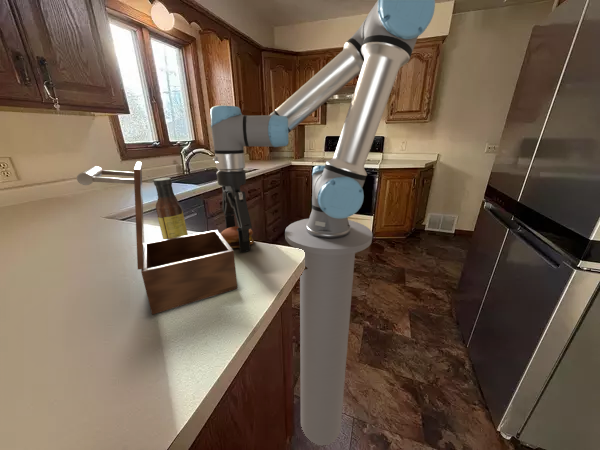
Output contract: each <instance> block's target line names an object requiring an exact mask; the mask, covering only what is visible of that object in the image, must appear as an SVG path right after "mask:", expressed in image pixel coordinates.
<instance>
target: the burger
mask: <svg viewBox="0 0 600 450" xmlns="http://www.w3.org/2000/svg"><path fill="white" fill-rule="evenodd" d="M237 228H239V226H238V225H237V226H236V225H235V227H230V228H227V229H226V228H225V229H224V230H222V231H221V232H220V234H221V235H222V236H223V238H224V239H225V240H226V242H227V243H228V244H229V245H230V247H231V248H232V249H240V246H239V236H238V231H237ZM253 234H254V231H253V230H252V229H249V240H250V241H252V242H250V246H251V245H253V244H254V239H253V236H252V235H253Z"/></svg>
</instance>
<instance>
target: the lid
mask: <svg viewBox="0 0 600 450" xmlns="http://www.w3.org/2000/svg"><path fill="white" fill-rule="evenodd" d="M103 175H105V176H103ZM109 176H122V177H123V178H122V177H109ZM125 177H133V178H125ZM76 181H77V183H79V184H80V185H82V186H90V185H92V184H93V183H107V184H124V185H126V184H128V185H133V186H134V187H133V188H134V211H135V212H134V213H135V215H134V216H135V236H136V237H135V238H136V239H135V240H136V261H137V264H136V265H137V270H141V269H143V264H144V243H145V231H144V230H145V229H144V200H143V196H144V195H143V167H142V162H141V161H136V163H135V164H134V168H133V172H132V171H121V170H109V169H107V170H106V169H102V167H100V166H97V165H94V166H93V165H92V166H91V167H89V168H87V169H86V170H84V171H82V172H80V173H78V175H76Z"/></svg>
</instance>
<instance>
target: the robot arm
mask: <svg viewBox="0 0 600 450" xmlns="http://www.w3.org/2000/svg"><path fill="white" fill-rule="evenodd" d="M435 8H436V0H377V1H376V2H375V4H374V5H373V7H372V8H371V10H370V11H369V12H368V14H367V16H366V17H365V19H364V20H363V22H362V23H361V25H360V26H359V28H357V30H356V31H355V32H354V34H352V36H351V37H350V38H349V39H347V40H346V42H345V43H344V44H343V49H342V50H341V51H340V52H339V53H338V54H337V55H336V56H335V57H334V58H332V59H331V60H330V61H329V62H328V63H327V64H325V65H324V66H323V67H322V68H321V69H320V70H319V71H318V72H317V73H315V74H314V75H313V76H312V77H311V78H310V79H309V80H308V81H306V82H305V83H304V84H303V85H302V86H300V87H299V89H297V90H296V91H295V92H293V94H292V95H291V96H289V97H288V98H287V99H286V100H285V101H284V102H283V103H281V104H280V105H279V106H278V107H276V109H274V110H273V111H272V112H271V113H270V114H269V115H268V114H266V115H248V114H247V115H246V114H243V113H242V111H241V108H240V107H239V106H235V105H214V106H212V107H211V108H210V129H211V137H212V143H213V152H214V157H213V158H212V161H213V162H215V166H216V169H217V171H216V179H217V185H218V186H220V187H221V189H222V213H223V215H224V220H225V229H227V228H230V227H236V222H237V226H239V228H237V231H238V236H239V246H240V248H239V252H240V253H246V252H249V251H251V245H250V240H249V229H251V230H252V228H253V226H252V223H251V218H250V212H249V208H248V203H247V197H246V192H245V191H241V186H243V185H245V184H246V183H247V176H246V171H245V168H246V158H245V150H244V149H245V147H246V148H247V147H261V148H262V147H263V148H264V147H265V148H267V147H269V148H270V147H271V148H272V147H273V148H279V147H287V146H289V134H290V133H291V131H293V130H294V129H295V128H297V127H298V126H299V125H300V124H301V123H303V122H304V121H305V120H306V119H307V118H308V117H310V116H311V115H312V114H313V113H315V111H317V110H318V109H319V108H320V107H321V106H323V105H324V104H325V103H326V102H328V101H329V100H330V99H331V98H332V97H333V96H335V95H336V94H337V93H338V92H339V91H340V90H342V89H343V88H344V87H345V86H346V85H348V84H349V83H350V82H351V81H352V80H353V79H355V78H356V77H357V76H358V78H357V82H356V85H355V88H354V90H353V95H352V98H351V101H350V104H349V106H348V110H347V113H346V116H345V120H344V123H343V126H342V128H341V133H340V134H339V135H340V136H339V138H338V142H337V145H336V148H335V151H334V154H333V157H332V158H331V159H328V160H327V161H326V162H325V164H324V165H315V166H314V167H313V168H312V173H311V177H312V184H311V185H312V188H311V189H312V193H311V195H312V196H311V212H310V215H309V217H308V219H309V221H308V223H307V232H308V233H309V234H310V235H312V236H314V237H318V238H323V239H337V238H342V237H345V236H347V235H348V234H349V233H350V225H349V222H348V220H349V219H348V218H349V217H351V216H353V215H355V214H357V212H359V210H360V209H361V208H362V205H363V203H364V198H365V195H364V189H363V187H364V184H365V182H366V178H367V176H368V173H367V171H366V169H365V165H366V162H367V159H368V157H369V154H370V151H371V148H372V146H373V143H374V140H375V137H376V134H377V131H378V129H379V126H380V124H381V121H382V117H383V115H384V112H385V109H386V106H387V104H388V101H389V98H390V96H391V92H392V90H393V87H394V85H395V83H396V79H397V76H398V73H399V70H400V69H401V68H402V67H403V66H405V65H407V64H408V63H409V62H410V59H411V57H412V54H413V51H414V49H415V46H416V43H417V41H418V38H419V37H420V36H421V35H422V34H423V33H424V32H425V31H426V29H428V27H429V26H430V23H431V22H432V19H433V17H434V14H435V10H436V9H435Z"/></svg>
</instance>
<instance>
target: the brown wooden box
mask: <svg viewBox="0 0 600 450" xmlns="http://www.w3.org/2000/svg"><path fill="white" fill-rule="evenodd" d="M236 269H237V268H236V259H235V251H234V248H231V247H230V245H229V244H228V243H227V242H226V240H225V239H224V238H223V236H222V235H221V232H220V231H219V230H218V229H214V230H209V231H203V232H197V233H193V234H188V235H186V236H180V237H175V238H169V239H164V240H163V239H159V240H153V241H148V242H144V264H143V269H140V271H141V277H142V280H143V284H144V288H145V292H146V297H147V299H148V300H147V301H148V304H149V308H150V312H151V315H155V314H160V313H162V312H166V311H169V310H172V309H175V308H178V307H181V306H185V305H188V304H192V303H195V302H199V301H201V300H204V299H205V300H206V299H209V298H212V297H214V296H218V295H221V294H225V293H228V292H231V291H234V290H237V289H239V287H238V279H237V270H236Z"/></svg>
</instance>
